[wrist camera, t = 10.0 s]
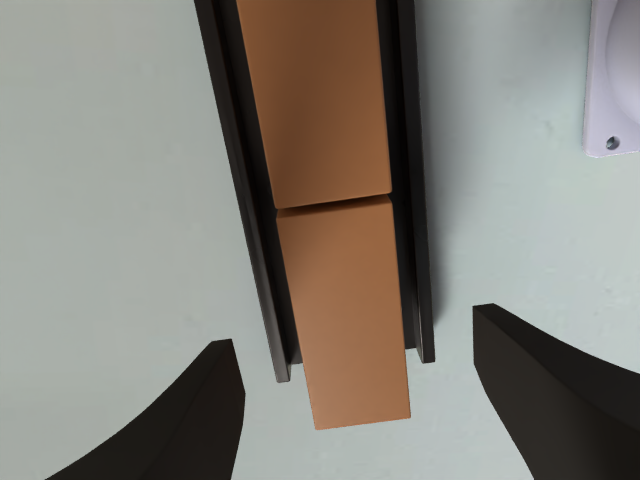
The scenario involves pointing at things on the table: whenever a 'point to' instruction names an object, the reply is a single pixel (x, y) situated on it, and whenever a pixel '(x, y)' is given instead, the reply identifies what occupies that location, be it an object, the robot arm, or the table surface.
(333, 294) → the orange rectangular block
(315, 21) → the brown wooden block
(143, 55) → the table surface
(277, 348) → the rail
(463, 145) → the table surface
